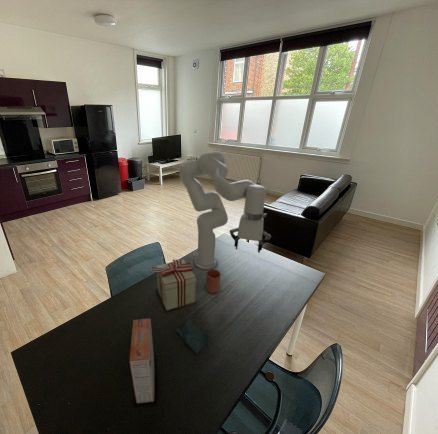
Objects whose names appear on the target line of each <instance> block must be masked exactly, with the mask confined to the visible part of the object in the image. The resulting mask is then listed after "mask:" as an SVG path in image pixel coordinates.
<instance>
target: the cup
mask: <svg viewBox="0 0 438 434" xmlns="http://www.w3.org/2000/svg"><path fill="white" fill-rule="evenodd" d="M220 284H221V272H220V271H219V270H217V269H214V268H211V269H207V271H206V273H205V290H206V291H207V292H208V293H210V294H215V293H218V292H219V291H220Z"/></svg>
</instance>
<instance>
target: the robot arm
mask: <svg viewBox="0 0 438 434" xmlns="http://www.w3.org/2000/svg"><path fill="white" fill-rule="evenodd" d="M225 163H226V158H225V157H224V155H223V154H222V153H220V152H218V151H217V152H208V153H203V154H200V155H199V156H198V157H197V159H196V160H190V161H186V162H184V163H182V164H181V165H180V166H179V169H178V170H179V172H178V173H179V178H180V180H181V183H182V184H183V186H184V188H185V189H186V191H187V194H188V197H189V199H190V202H191V204H192V207H193V209H194V210H195V211H196V212H203V213H201V214H199V215H198V216H197V218H196V225H197V226H196V227H197V251H196V250H193V251H192V257H194V264H195V266H196V267H198V268H199V269H202V270H211V269H214V268H215V267H216V266H217V259H216V258H215V253H216V252H215V250H216V233H214V230H215V229H217V228H221V227H223V226H225V225H226V224H227V223H228V221H229V217H228V213H227V211H226V208H225V206H224V203H223V201H222V199H221V197H222V198H223V199H224V200H226V201H228V202H234V201H235V202H236V201H238V200H244V208H243V214H242V215H241V216H240V218H239V223H238V227H235V228H232V229H229V234H230V236H231V238H232V240H233V241H234V245H233V247H235V250H238V247H239V240H248V241H255V242H258V246H257V253H258V254H261V251H263V246H264V245H265V244H266V243H268V242H269V241H270V239H271V238H272V235H271V234H270V233H268V232H266V231H265V230H264V224H265V223H264V221H265V220H264V218H266V217H267V213H264V207H265V204H266V203H265V202H266V196H267V188H266V187H265V186H264V185H260V184H256V183H254V182H253V181H252V180H250V179H243V180H237V181H233V182H229V181H227V180H226V177H227V175H228V173H229V169H228V167H227V166H226V164H225ZM202 176H208V177H209V178H210V179H211V180H212V184H213V187H214V190H215V191H214V190H211V191H205V190H204V187H203V184H202V183H201V182H200V181H199V180H197V179H196V177H202ZM208 210H209V211H208ZM235 233H237V234H235ZM263 236H264V238H263Z"/></svg>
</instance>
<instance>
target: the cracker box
mask: <svg viewBox="0 0 438 434" xmlns="http://www.w3.org/2000/svg"><path fill="white" fill-rule="evenodd" d="M152 329H153V328H152V319H151V317H150V318H139V319H133V320H132V329H131V341H130V352H129V366H130V373H131V378H132V379H131V380H132V385H133V390H134V396H135V402H136V404H144V403H153V402H155V351H154V341H153V330H152Z"/></svg>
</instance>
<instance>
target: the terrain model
mask: <svg viewBox="0 0 438 434" xmlns="http://www.w3.org/2000/svg"><path fill="white" fill-rule="evenodd" d="M174 331H175V332H177V334H178V335H179V336H180V337H181V338H182V339H183V341H184V342H185V343H186V344H187V346H189V348H190V349H192V351H193V352H194V353H195V354H199V352H200V351H201V349H202V348H203V347H204V346H205V345H206V344H207V343H209V342H210V341H211V339H212V338H211V337H210V336H209V335H207V334H206V333H205V331H203V330H202V329H200V327H199V326H197V325H196V324H195V323H194V322H193V321H192V320H191V319H188V320H187V322H185V324H183V325H182V326H181V327H177V328H174Z"/></svg>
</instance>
